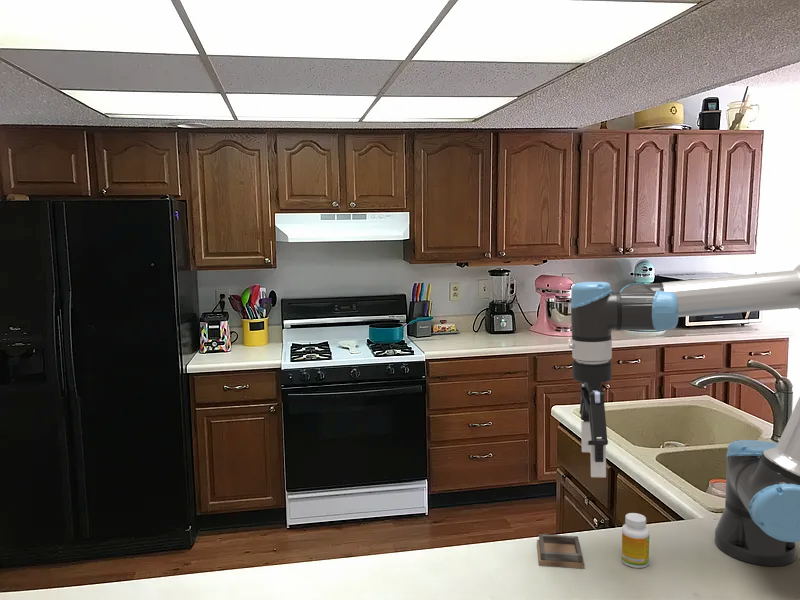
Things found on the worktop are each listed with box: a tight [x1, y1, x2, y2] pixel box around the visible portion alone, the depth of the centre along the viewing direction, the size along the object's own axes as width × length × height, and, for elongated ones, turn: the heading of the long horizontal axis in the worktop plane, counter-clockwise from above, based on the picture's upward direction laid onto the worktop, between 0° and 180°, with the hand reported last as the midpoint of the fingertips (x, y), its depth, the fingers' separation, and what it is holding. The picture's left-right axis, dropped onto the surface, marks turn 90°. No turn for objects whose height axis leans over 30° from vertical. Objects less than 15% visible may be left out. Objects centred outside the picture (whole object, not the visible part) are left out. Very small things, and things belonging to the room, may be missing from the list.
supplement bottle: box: [620, 512, 651, 569], centre depth 130 cm, size 5×5×10 cm
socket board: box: [536, 533, 585, 569], centre depth 133 cm, size 9×9×2 cm
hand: (593, 463), depth 128 cm, fingers open, 13 cm apart
